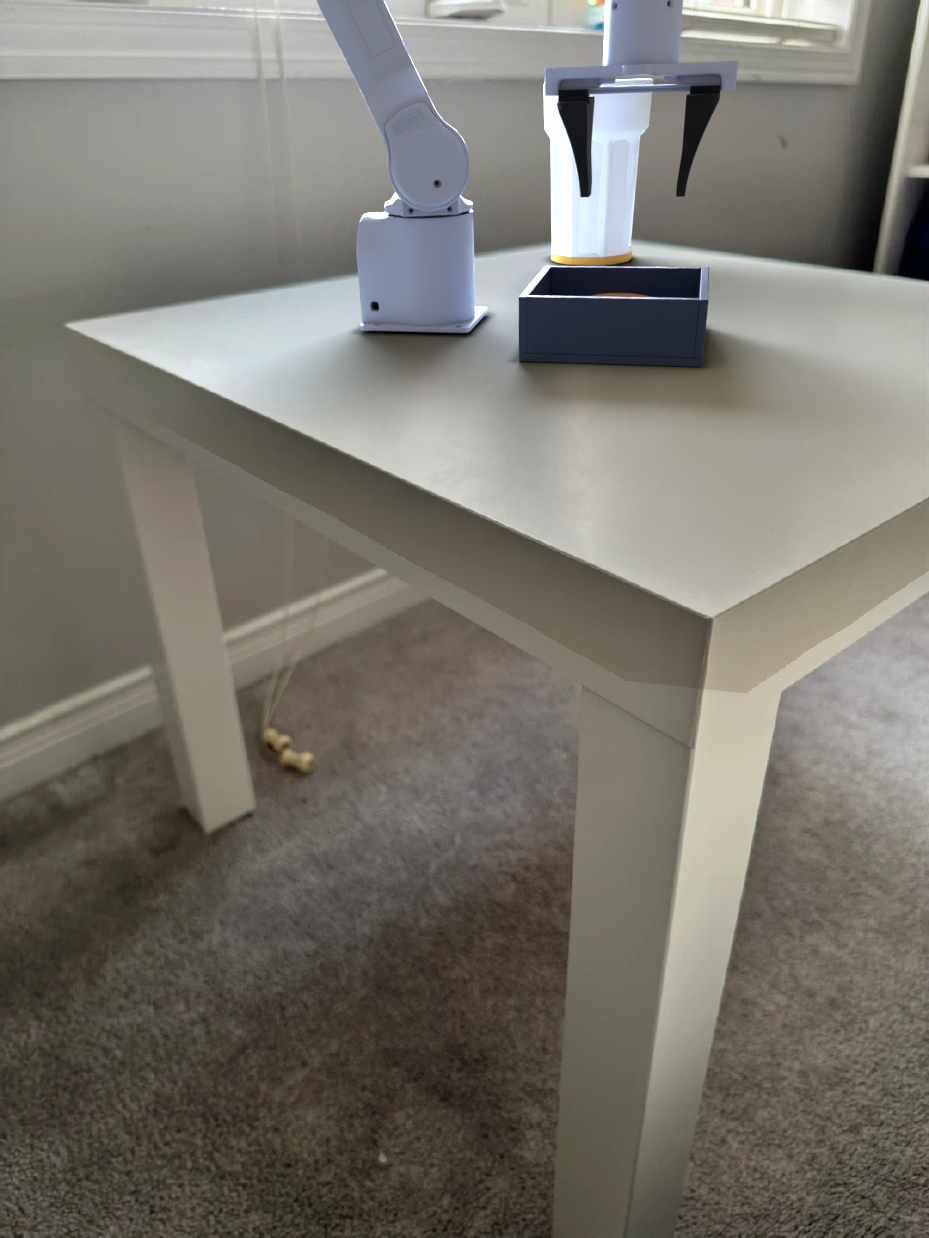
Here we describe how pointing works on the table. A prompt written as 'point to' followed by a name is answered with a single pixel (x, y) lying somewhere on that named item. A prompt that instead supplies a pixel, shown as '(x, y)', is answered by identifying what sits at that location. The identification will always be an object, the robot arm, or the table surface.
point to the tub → (615, 315)
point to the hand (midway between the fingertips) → (632, 195)
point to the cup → (597, 179)
